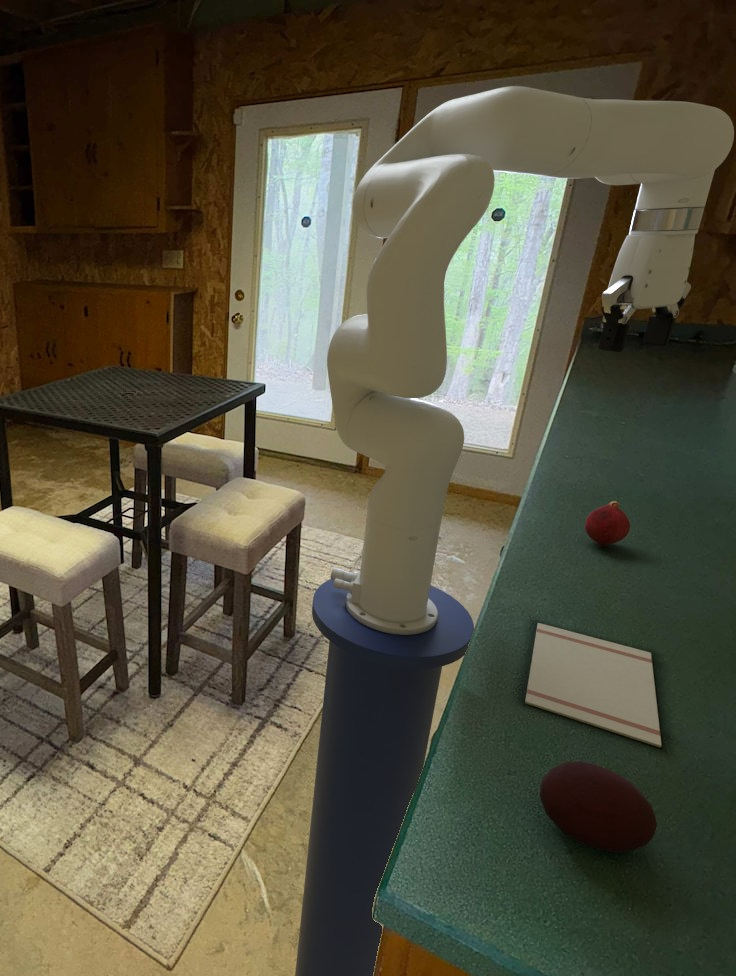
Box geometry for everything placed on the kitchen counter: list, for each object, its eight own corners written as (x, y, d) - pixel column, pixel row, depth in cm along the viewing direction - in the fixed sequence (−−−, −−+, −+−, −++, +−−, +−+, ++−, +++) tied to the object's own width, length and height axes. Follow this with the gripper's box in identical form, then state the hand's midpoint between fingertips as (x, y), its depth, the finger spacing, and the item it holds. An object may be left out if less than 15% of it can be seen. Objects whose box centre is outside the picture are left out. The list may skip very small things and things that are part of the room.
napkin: (524, 703, 70) (525, 701, 70) (537, 624, 84) (537, 622, 84) (660, 748, 64) (661, 745, 63) (650, 654, 77) (651, 652, 77)
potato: (532, 780, 60) (545, 732, 58) (639, 816, 56) (657, 765, 54) (532, 840, 54) (547, 789, 52) (652, 885, 50) (673, 832, 48)
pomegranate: (602, 556, 100) (615, 510, 97) (571, 540, 105) (582, 497, 102) (631, 551, 101) (645, 506, 98) (599, 535, 107) (611, 492, 104)
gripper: (675, 222, 92) (645, 338, 99) (594, 226, 87) (567, 349, 93) (736, 220, 86) (699, 345, 92) (652, 224, 80) (619, 357, 87)
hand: (632, 347), depth 93 cm, fingers open, 9 cm apart
